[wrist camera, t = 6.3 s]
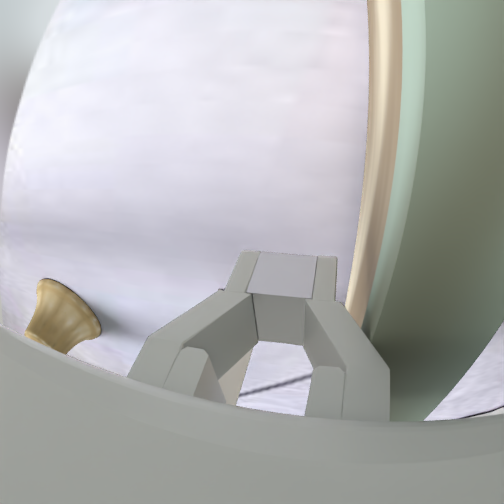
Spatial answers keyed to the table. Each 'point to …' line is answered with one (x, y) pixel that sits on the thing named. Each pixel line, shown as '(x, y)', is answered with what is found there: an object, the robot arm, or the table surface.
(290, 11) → the table surface
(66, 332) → the hand bell
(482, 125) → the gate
